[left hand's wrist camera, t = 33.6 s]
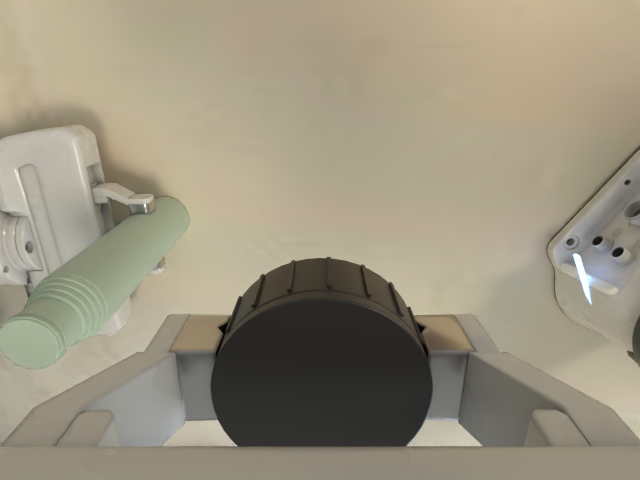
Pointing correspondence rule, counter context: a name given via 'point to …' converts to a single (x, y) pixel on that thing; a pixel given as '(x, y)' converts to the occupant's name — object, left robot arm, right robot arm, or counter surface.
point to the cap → (321, 361)
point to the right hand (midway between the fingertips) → (157, 234)
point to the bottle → (91, 286)
